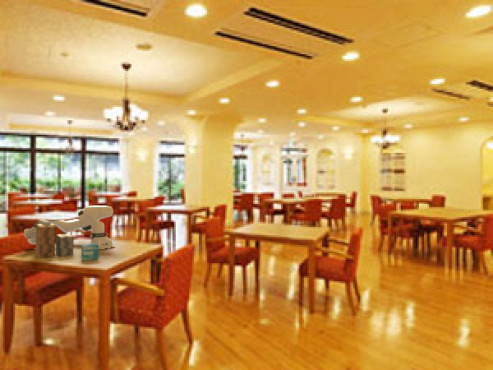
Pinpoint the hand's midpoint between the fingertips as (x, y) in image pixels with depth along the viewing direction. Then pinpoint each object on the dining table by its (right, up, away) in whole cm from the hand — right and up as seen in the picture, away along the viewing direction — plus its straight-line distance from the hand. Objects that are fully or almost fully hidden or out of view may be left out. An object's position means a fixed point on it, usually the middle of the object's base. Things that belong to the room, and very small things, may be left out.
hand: (39, 227), depth 311 cm
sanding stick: (+11, +5, -12) cm, 17 cm away
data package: (+53, -23, -22) cm, 61 cm away
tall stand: (+13, -21, -15) cm, 29 cm away
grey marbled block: (+24, -22, -6) cm, 33 cm away
